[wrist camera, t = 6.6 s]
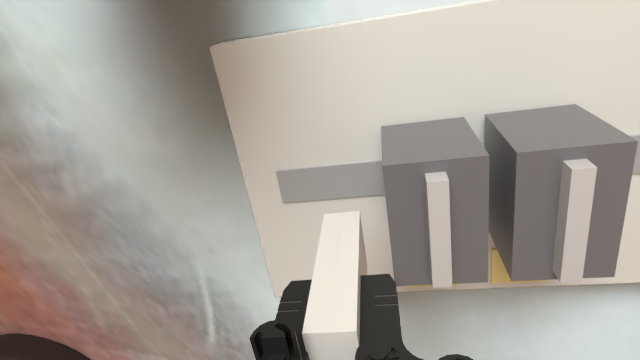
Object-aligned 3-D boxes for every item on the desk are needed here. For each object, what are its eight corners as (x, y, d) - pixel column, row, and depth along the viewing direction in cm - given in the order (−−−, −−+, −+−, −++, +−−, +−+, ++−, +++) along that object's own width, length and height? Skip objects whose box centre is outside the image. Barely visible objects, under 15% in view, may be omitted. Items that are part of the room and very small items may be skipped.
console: (281, 277, 28) (274, 299, 26) (222, 41, 22) (207, 47, 20) (919, 246, 22) (973, 271, 20) (1107, -104, 15) (1215, -117, 13)
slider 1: (391, 227, 23) (395, 298, 18) (381, 126, 20) (382, 174, 15) (465, 222, 22) (492, 294, 17) (463, 116, 20) (494, 164, 14)
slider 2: (483, 221, 22) (517, 293, 17) (484, 114, 19) (524, 161, 14) (564, 215, 21) (624, 289, 16) (575, 104, 19) (651, 149, 14)
